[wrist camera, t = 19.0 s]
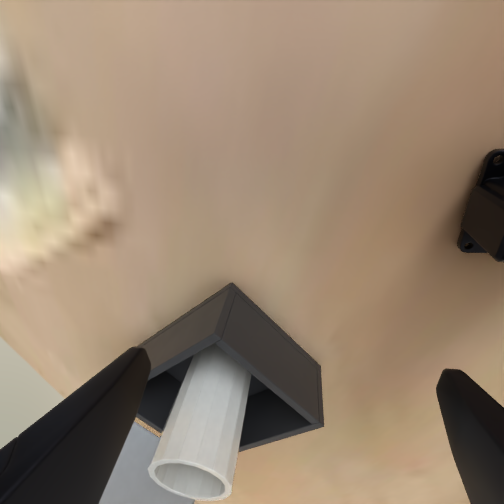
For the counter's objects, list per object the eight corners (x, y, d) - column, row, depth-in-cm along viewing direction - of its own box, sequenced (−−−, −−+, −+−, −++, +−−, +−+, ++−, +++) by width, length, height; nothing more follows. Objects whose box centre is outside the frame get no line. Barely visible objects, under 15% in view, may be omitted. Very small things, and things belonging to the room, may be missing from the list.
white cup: (263, 357, 27) (246, 483, 19) (237, 388, 31) (212, 508, 22) (206, 331, 27) (161, 449, 18) (185, 365, 30) (139, 480, 21)
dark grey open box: (232, 281, 24) (214, 333, 19) (320, 366, 28) (324, 426, 23) (136, 346, 31) (105, 397, 26) (219, 408, 34) (205, 462, 29)
